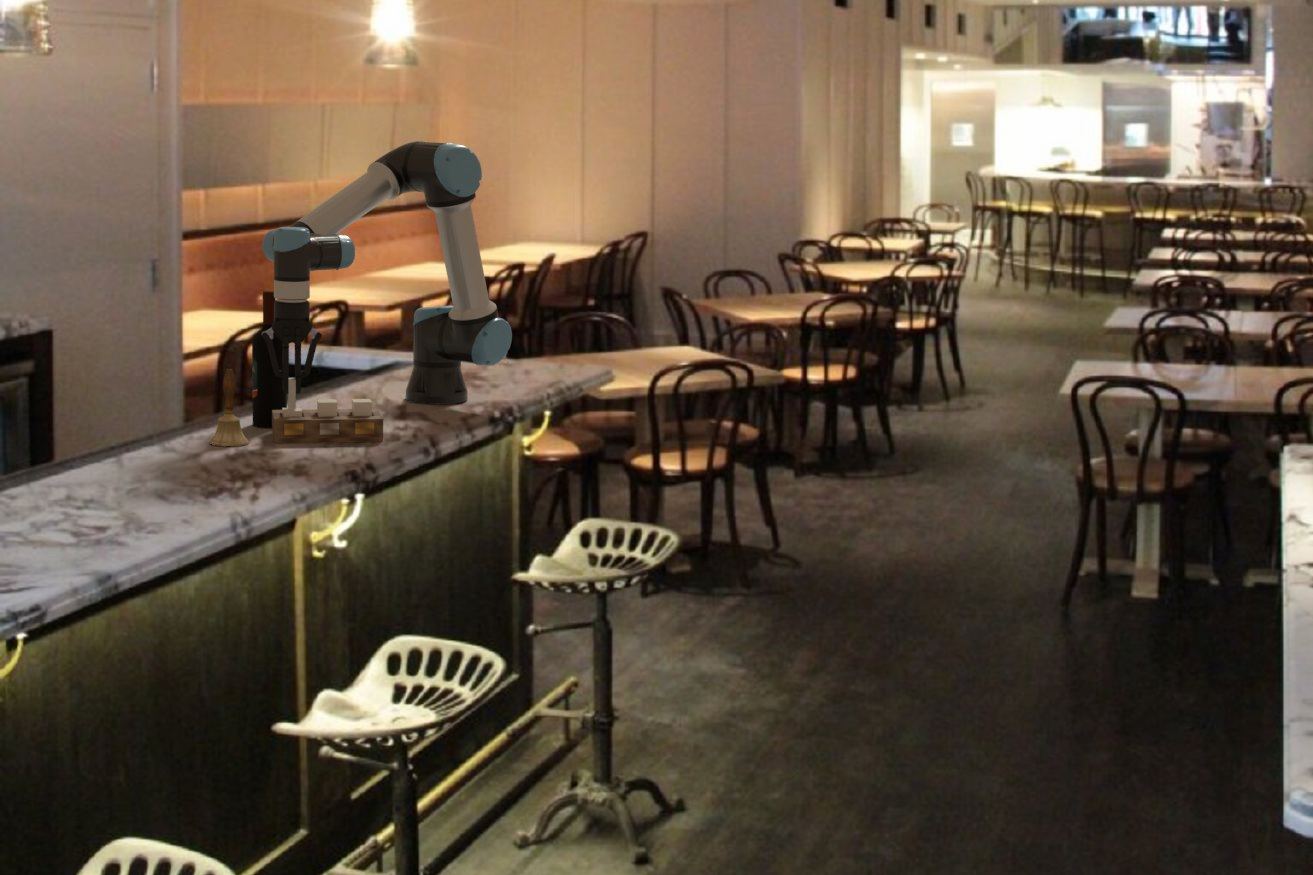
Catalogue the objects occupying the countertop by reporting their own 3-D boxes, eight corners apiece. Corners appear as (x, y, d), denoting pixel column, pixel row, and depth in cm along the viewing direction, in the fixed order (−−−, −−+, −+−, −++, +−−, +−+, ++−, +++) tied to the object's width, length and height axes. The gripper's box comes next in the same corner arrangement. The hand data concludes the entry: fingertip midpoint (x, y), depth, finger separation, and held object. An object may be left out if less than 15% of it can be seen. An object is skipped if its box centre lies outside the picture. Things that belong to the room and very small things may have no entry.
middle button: (335, 421, 396) (335, 399, 395) (337, 425, 392) (337, 402, 391) (317, 421, 395) (317, 399, 394) (318, 425, 391) (318, 402, 390)
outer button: (301, 430, 395) (301, 407, 394) (302, 433, 391) (302, 411, 390) (282, 430, 394) (282, 407, 393) (283, 433, 390) (283, 411, 389)
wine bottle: (270, 429, 400) (269, 294, 394) (245, 425, 404) (244, 291, 398) (294, 424, 406) (293, 292, 400) (269, 420, 410) (268, 289, 404)
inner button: (370, 421, 398) (370, 398, 397) (372, 424, 394) (372, 402, 393) (351, 421, 397) (352, 399, 396) (353, 424, 393) (353, 402, 392)
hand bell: (230, 437, 390) (229, 364, 387) (257, 443, 385) (256, 369, 382) (200, 443, 383) (199, 368, 380) (227, 448, 379) (226, 373, 375)
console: (377, 430, 403) (377, 408, 402) (383, 441, 391) (383, 419, 390) (272, 432, 397) (272, 409, 396) (274, 443, 385) (274, 420, 384)
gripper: (321, 298, 392) (321, 405, 396) (259, 297, 388) (260, 405, 393) (324, 302, 385) (323, 411, 389) (261, 301, 381) (261, 411, 386)
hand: (291, 408), depth 391 cm, fingers closed
